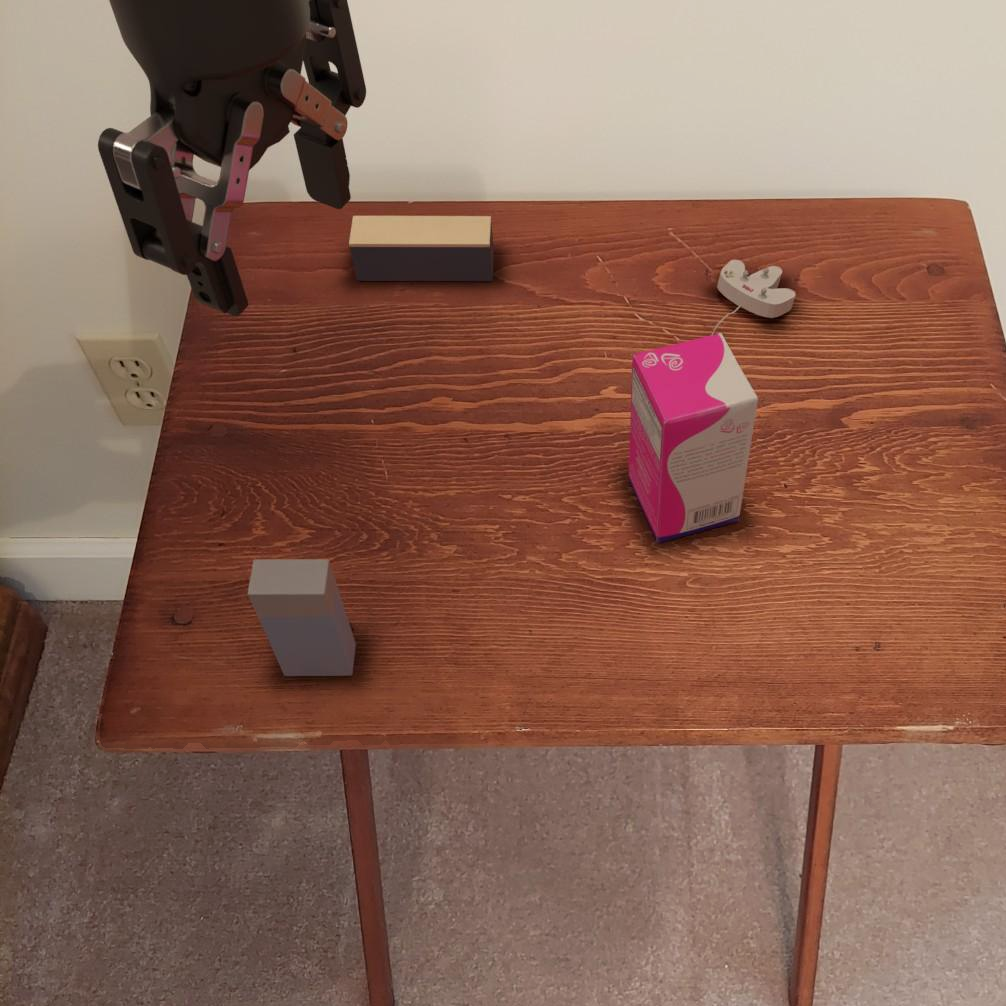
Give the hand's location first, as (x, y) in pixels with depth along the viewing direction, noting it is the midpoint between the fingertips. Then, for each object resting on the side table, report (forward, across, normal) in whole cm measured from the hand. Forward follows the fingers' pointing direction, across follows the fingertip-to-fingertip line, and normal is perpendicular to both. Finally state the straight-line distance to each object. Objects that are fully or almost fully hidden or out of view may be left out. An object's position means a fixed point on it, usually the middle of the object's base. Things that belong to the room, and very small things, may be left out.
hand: (280, 252), depth 57 cm
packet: (+21, +10, +5) cm, 24 cm away
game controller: (+21, -27, +14) cm, 37 cm away
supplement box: (+21, -11, +18) cm, 30 cm away
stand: (+21, -21, -8) cm, 31 cm away
